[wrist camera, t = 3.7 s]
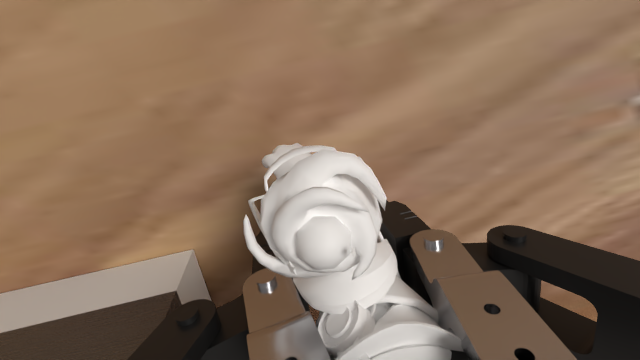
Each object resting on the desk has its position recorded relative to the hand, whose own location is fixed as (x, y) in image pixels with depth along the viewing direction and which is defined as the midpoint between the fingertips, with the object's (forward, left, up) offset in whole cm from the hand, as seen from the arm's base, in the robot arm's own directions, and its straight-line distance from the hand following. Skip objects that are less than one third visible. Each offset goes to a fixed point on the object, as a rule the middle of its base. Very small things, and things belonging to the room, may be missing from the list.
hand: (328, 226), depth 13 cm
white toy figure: (0, 0, -3) cm, 3 cm away
